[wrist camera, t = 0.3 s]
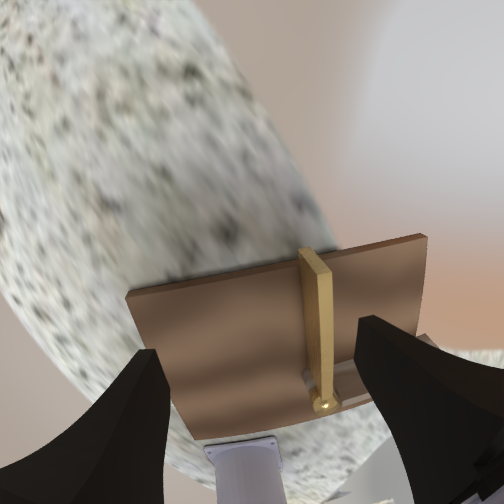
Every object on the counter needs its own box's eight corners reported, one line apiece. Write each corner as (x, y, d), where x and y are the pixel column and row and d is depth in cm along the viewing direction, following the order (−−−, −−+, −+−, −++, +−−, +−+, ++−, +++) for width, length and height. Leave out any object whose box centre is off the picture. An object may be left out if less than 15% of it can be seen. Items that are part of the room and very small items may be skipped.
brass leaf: (323, 379, 22) (338, 412, 19) (303, 384, 22) (315, 418, 19) (317, 245, 18) (340, 269, 14) (290, 250, 18) (307, 277, 14)
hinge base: (407, 379, 26) (429, 410, 22) (194, 432, 25) (194, 472, 20) (431, 230, 20) (472, 252, 15) (128, 291, 19) (107, 333, 14)
